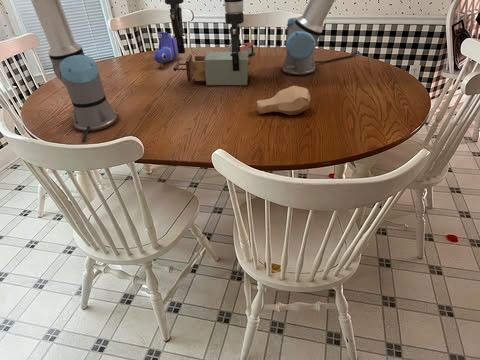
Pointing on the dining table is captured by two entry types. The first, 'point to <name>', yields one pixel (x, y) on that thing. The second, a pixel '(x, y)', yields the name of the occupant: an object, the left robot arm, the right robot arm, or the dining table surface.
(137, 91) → the dining table surface
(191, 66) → the drawer
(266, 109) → the squash
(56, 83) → the dining table surface
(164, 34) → the toy
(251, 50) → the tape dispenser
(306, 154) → the dining table surface
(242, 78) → the pale green box
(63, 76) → the left robot arm
